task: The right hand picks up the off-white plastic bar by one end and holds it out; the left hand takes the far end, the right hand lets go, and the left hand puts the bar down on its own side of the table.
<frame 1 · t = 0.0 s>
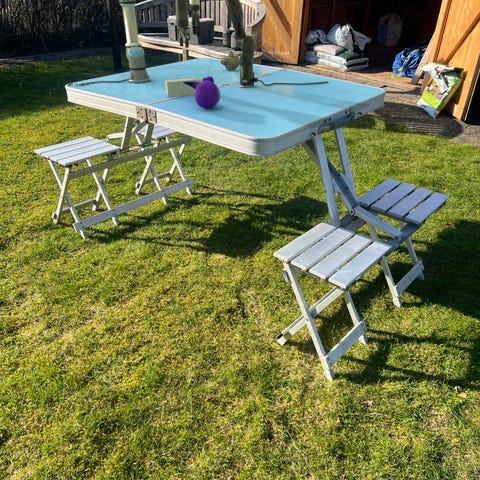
left hand: (196, 35, 349), 28 cm above the table, tool pointing down, fingers open, 13 cm apart
right hand: (184, 47, 282), 29 cm above the table, tool pointing down, fingers open, 8 cm apart
toy: (204, 106, 269), on the table
teapot: (232, 70, 372), on the table
bar: (184, 94, 298), on the table
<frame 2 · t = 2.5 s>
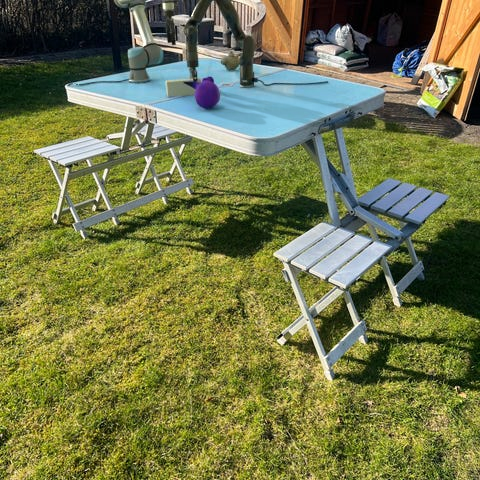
left hand: (171, 44, 313), 27 cm above the table, tool pointing down, fingers open, 13 cm apart
right hand: (194, 86, 297), 5 cm above the table, tool pointing down, fingers closed on bar, 5 cm apart
bar: (184, 94, 298), on the table, touching right hand
everything else where it was.
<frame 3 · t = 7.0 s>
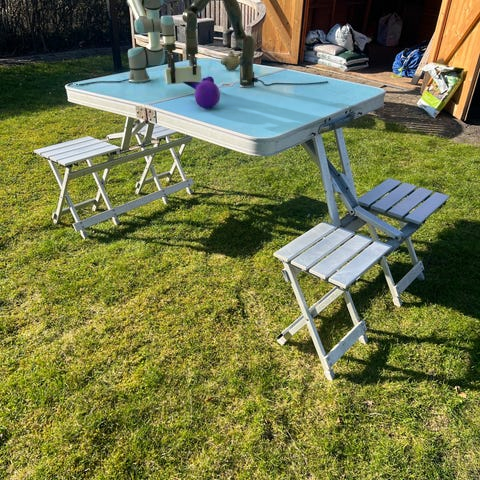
left hand: (172, 82, 292), 9 cm above the table, tool pointing down, fingers closed on bar, 5 cm apart
right hand: (193, 73, 293), 13 cm above the table, tool pointing down, fingers closed on bar, 5 cm apart
bar: (183, 82, 294), point 8 cm above the table, touching left hand, right hand
everything else where it was.
when the right hand's fingers open (13 cm above the table, at t = 7.9 s): bar stays where it is, held by the left hand.
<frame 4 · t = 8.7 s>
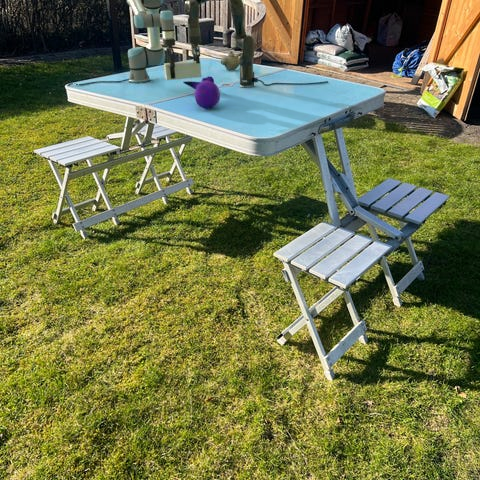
left hand: (172, 77, 290), 11 cm above the table, tool pointing down, fingers closed on bar, 5 cm apart
right hand: (196, 62, 290), 20 cm above the table, tool pointing down, fingers open, 8 cm apart
bar: (183, 77, 293), point 11 cm above the table, touching left hand
everything else where it was.
when the left hand's fingers open (2 cm above the table, at t = 11.8 s): bar drops 1 cm, on the table.
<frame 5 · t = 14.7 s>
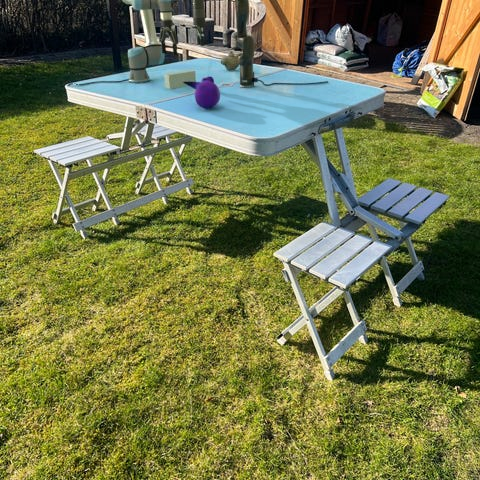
left hand: (169, 54, 306), 22 cm above the table, tool pointing down, fingers open, 13 cm apart
right hand: (200, 45, 286), 30 cm above the table, tool pointing down, fingers open, 8 cm apart
bar: (181, 86, 321), on the table
everything else where it was.
at the end: bar inside the target area (7.2 cm from its centre), on the table; the left hand is holding nothing; the right hand is holding nothing; bar at rest at the end (0.0 cm/s) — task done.
